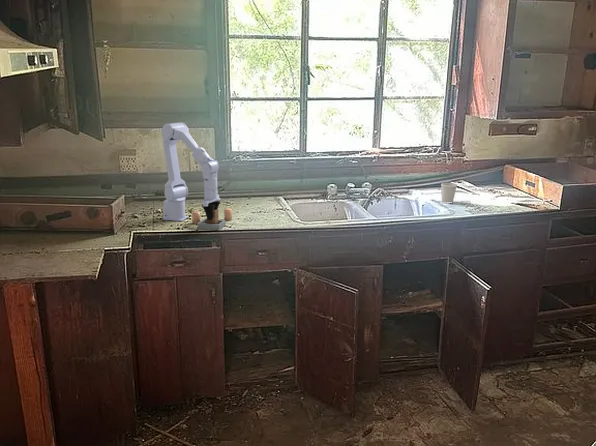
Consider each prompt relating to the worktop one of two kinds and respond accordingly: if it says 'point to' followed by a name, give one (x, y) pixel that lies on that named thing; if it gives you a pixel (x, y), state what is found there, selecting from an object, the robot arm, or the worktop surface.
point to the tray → (211, 225)
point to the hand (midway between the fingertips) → (211, 218)
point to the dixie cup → (448, 191)
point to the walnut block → (214, 218)
